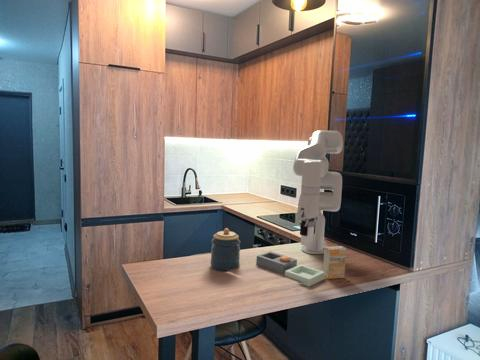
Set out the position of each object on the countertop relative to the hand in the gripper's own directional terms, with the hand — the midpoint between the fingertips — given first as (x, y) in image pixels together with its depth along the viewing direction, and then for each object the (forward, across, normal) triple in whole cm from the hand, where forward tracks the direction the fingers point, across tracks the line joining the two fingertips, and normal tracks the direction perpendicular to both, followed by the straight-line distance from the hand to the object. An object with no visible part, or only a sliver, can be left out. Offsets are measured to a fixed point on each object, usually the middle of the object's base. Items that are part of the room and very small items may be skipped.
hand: (307, 233), depth 149 cm
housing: (+19, 0, -15) cm, 24 cm away
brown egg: (+18, 0, -11) cm, 21 cm away
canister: (+20, +16, -32) cm, 40 cm away
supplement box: (+20, -11, +7) cm, 24 cm away
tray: (+19, 0, 0) cm, 19 cm away
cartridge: (+4, 0, 0) cm, 4 cm away
